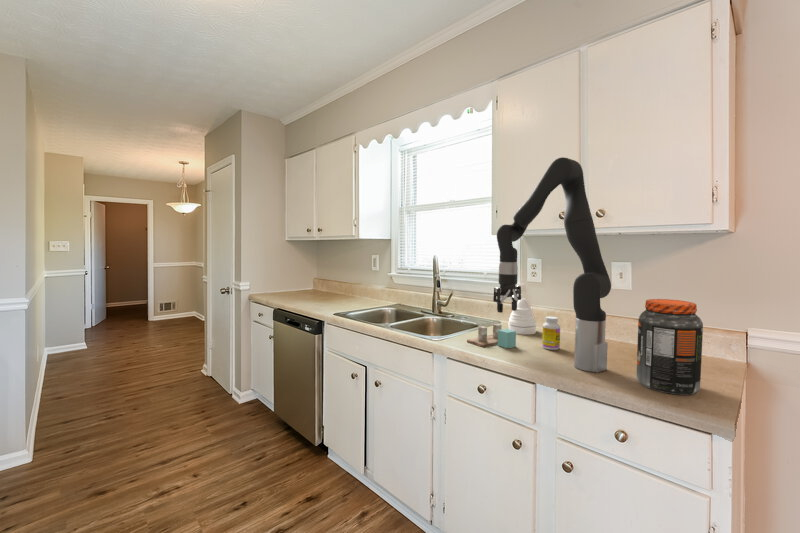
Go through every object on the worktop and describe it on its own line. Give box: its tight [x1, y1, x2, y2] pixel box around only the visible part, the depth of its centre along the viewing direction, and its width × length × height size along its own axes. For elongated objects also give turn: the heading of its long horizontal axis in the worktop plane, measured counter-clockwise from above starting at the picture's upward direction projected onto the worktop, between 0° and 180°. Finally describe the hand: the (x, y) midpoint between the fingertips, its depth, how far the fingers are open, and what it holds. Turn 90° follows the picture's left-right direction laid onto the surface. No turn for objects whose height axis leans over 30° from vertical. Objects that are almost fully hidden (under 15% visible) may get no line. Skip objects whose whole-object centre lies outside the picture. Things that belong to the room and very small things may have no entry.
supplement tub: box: [636, 298, 704, 396], centre depth 111 cm, size 16×16×26 cm
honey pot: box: [507, 293, 537, 335], centre depth 181 cm, size 13×13×18 cm
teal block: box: [497, 328, 517, 349], centre depth 155 cm, size 5×5×7 cm
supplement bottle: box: [541, 315, 561, 351], centre depth 152 cm, size 7×7×13 cm
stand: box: [466, 323, 503, 348], centre depth 162 cm, size 10×18×7 cm, turn 123°
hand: (507, 311), depth 154 cm, fingers open, 8 cm apart
